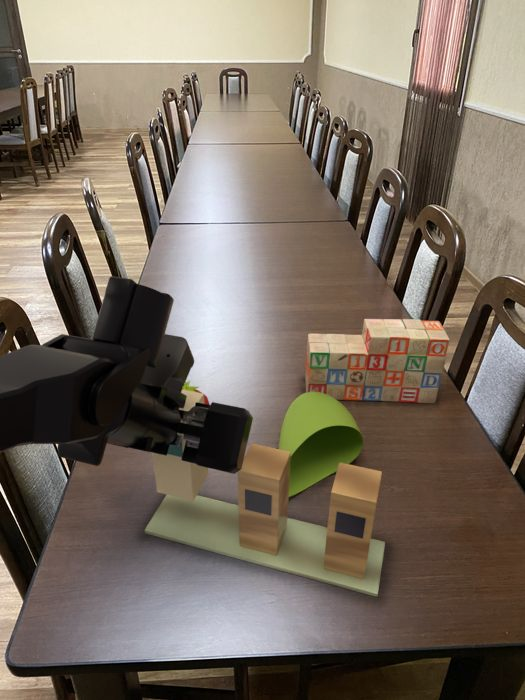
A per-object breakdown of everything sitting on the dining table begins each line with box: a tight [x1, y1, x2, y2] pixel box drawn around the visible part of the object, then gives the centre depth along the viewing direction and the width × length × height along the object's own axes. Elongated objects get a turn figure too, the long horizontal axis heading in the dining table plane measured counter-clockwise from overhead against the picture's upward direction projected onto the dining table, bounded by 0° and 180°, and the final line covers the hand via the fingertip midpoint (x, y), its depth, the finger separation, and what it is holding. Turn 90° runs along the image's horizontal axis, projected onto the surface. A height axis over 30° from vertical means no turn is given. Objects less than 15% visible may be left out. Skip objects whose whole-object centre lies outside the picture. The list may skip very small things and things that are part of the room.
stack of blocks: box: [304, 318, 450, 404], centre depth 88 cm, size 21×6×12 cm, turn 88°
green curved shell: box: [278, 392, 364, 498], centre depth 76 cm, size 8×12×20 cm
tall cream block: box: [151, 390, 209, 501], centre depth 61 cm, size 5×5×12 cm
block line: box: [144, 443, 386, 598], centre depth 61 cm, size 7×28×13 cm, turn 73°
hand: (184, 433), depth 62 cm, fingers closed on tall cream block, 4 cm apart
